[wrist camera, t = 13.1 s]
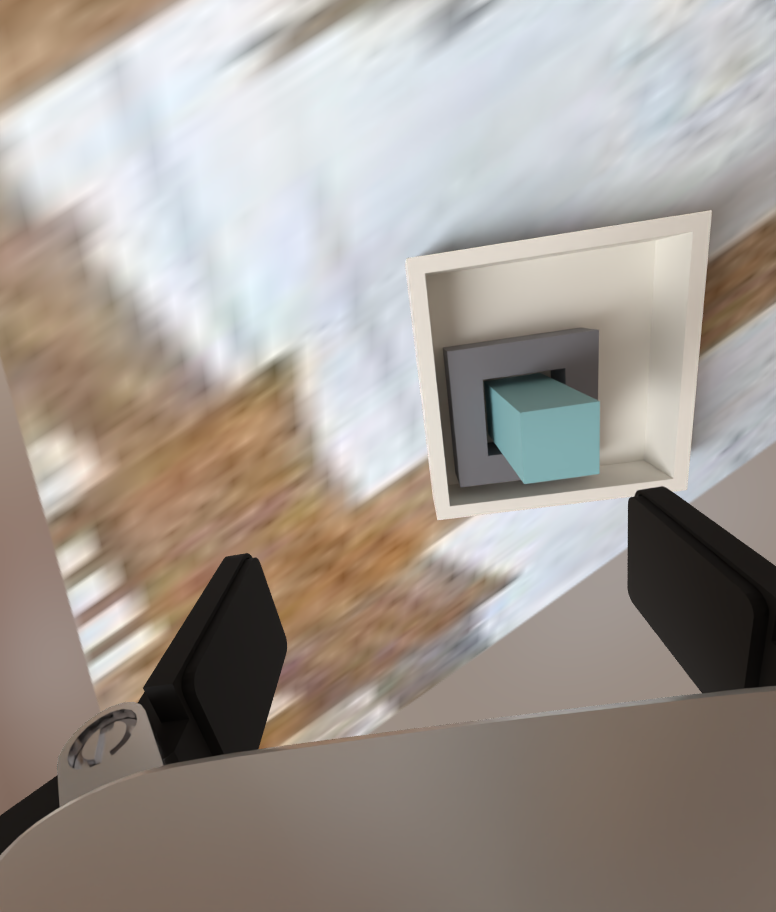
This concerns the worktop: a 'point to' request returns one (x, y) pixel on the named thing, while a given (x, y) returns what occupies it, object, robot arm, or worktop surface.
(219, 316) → the worktop surface
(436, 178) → the worktop surface
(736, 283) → the worktop surface
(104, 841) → the robot arm
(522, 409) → the peg
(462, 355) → the walled box
